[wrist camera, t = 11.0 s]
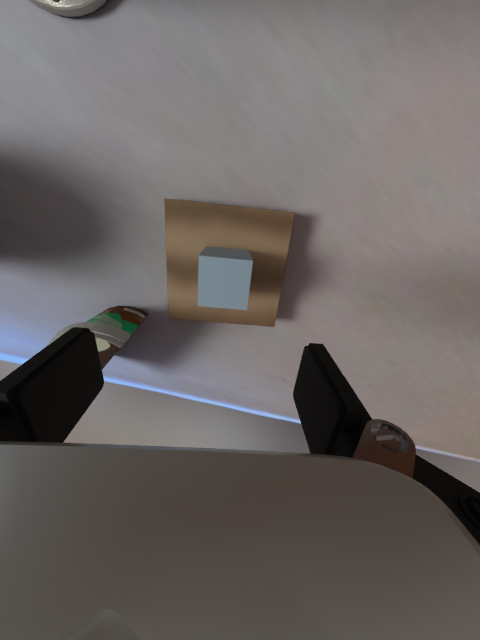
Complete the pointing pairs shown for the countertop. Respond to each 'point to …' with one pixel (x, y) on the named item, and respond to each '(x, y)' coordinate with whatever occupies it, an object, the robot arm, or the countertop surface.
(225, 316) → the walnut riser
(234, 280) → the slate block
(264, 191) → the countertop surface
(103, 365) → the food container
